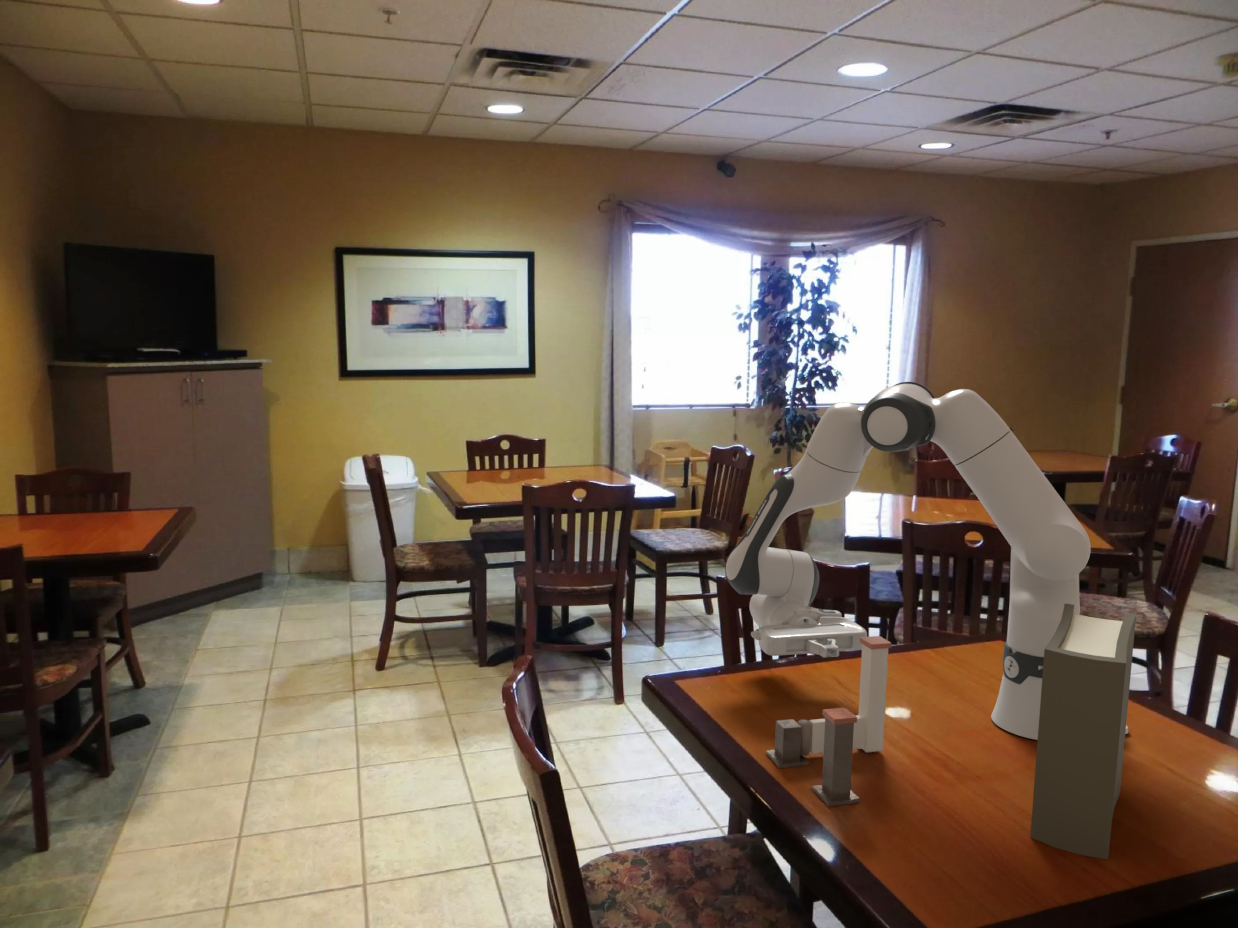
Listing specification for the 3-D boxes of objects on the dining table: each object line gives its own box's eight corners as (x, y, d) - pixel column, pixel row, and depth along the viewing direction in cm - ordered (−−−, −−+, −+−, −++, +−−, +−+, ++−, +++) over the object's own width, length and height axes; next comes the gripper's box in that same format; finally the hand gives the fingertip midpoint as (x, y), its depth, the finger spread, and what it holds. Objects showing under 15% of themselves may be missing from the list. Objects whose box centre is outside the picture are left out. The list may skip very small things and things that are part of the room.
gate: (873, 741, 148) (879, 635, 145) (885, 750, 144) (891, 642, 142) (792, 750, 144) (796, 642, 142) (802, 760, 141) (807, 649, 138)
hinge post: (794, 750, 145) (795, 715, 144) (808, 764, 140) (809, 728, 139) (766, 753, 144) (767, 718, 143) (779, 767, 139) (780, 731, 138)
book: (1107, 866, 115) (1126, 660, 110) (1029, 843, 120) (1043, 646, 115) (1119, 793, 132) (1136, 614, 128) (1051, 776, 137) (1064, 603, 133)
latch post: (842, 785, 133) (846, 705, 132) (859, 802, 129) (864, 718, 127) (812, 789, 132) (816, 707, 131) (828, 806, 127) (832, 721, 126)
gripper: (748, 615, 167) (778, 639, 154) (845, 610, 173) (883, 632, 159) (746, 647, 168) (777, 673, 155) (843, 641, 173) (881, 666, 160)
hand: (831, 652), depth 157 cm, fingers closed
